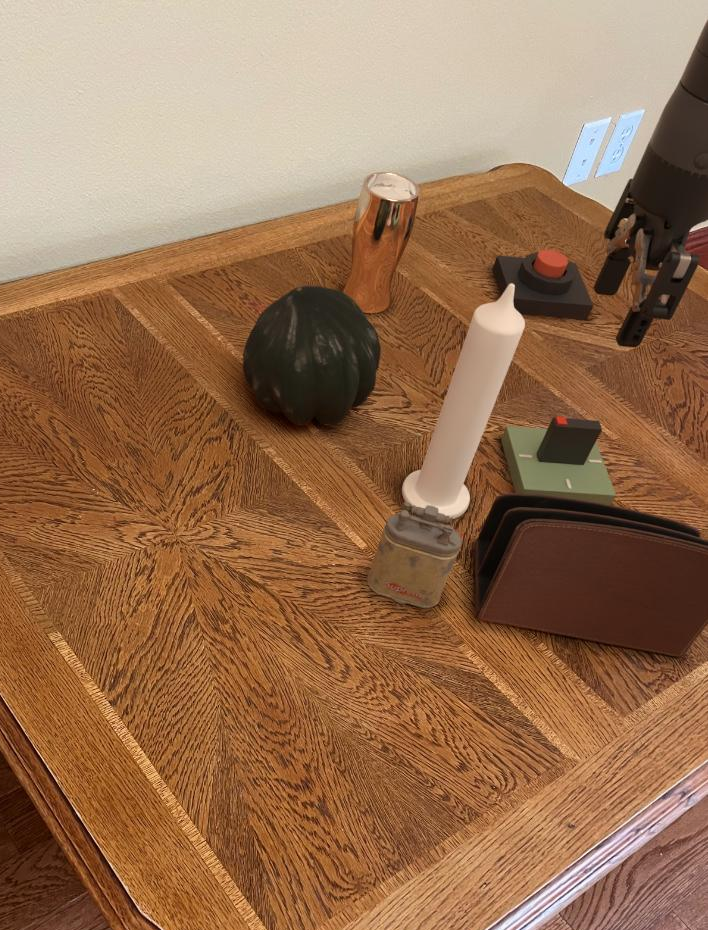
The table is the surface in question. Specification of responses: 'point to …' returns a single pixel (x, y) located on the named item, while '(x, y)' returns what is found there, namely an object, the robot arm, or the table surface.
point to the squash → (312, 356)
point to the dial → (568, 440)
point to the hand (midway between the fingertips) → (614, 317)
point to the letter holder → (592, 573)
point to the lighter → (414, 556)
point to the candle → (467, 407)
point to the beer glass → (380, 237)
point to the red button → (550, 263)
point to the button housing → (543, 288)
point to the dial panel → (554, 469)
